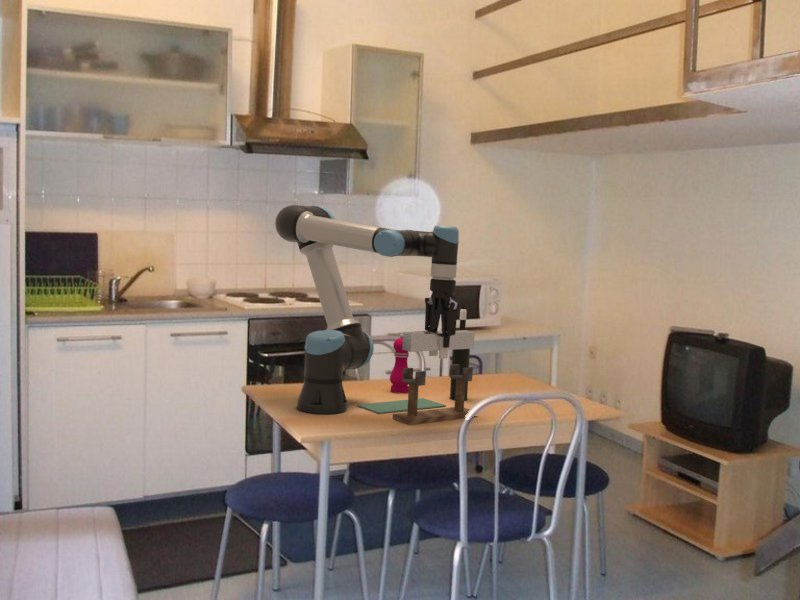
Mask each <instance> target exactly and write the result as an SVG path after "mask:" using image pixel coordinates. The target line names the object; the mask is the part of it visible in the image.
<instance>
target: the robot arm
mask: <svg viewBox="0 0 800 600" xmlns="http://www.w3.org/2000/svg"><path fill="white" fill-rule="evenodd" d="M274 223H275V224H274V225H275V229H276V232H277V234H278V235H279V236H280V238H282V239H283V240H285V241H286V242H291V243H297V246H298V250H299V252H300V253H301V254H303V255H304V256H306V259H307V263H308V267H309V269H310V273H311V275H312V279H313V282H314V286H315V288H316V293H317V296H318V298H319V301H320V305H321V309H322V312H323V316H324V319H325V321H326V325H327V328H326V329H324V330H316V331H312V332H310V333H308V334H307V336H306V338H305V344H304V371H303V384H302V388H301V390H300V392H299V396H298V398H297V402H296V409H297V410H299V411H301V412H305V413H310V414H317V415H318V414H320V415H325V414H326V415H328V414H329V415H330V414H331V415H332V414H339V413H344V412H346V411H348V401H347V400H348V399H347V396H346V393H345V390H344V386H343V377H344V375H343V373H344V372H345V371H348V370H356V369H359V368H361V367H364V366H366V364H368V363H369V362H370V360H371V359H372V356H373V355H374V349H375V347H374V341H373V339H372V337H371V336H370V335H369V333H367V332H366V331H364V330H363V327H362V325H361V322H360V321H358V320H357V319H355V318H354V316H353V315H354V314H353V311H352V309H351V304H350V303H349V298H348V297H347V293H346V289H345V286H344V283H343V280H342V277H341V273H340V270H339V267H338V264H337V263H338V262H337V259H336V257H335V253H334V250H333V246H338V247H343V248H349V249H355V250H360V251H365V252H370V253H376V254H379V255H381V256H383V257H388V258H392V257H424V258H425V257H427V258H431V263H430V277H432V278H430V281H429V282H430V283H429V291H430V292H431V295H430V297H429V296H428V297H425V298H424V303H425V313H424V314H425V315H424V330H425V332H433V331H438V330H439V325H440V322H441V331H442V335H440V349H439V350H435V351H428V356H429V357H437V356H438V359H441V360H442V359H448V357H449V350H448V348H449V342H450V336H452V335H455V332H456V331H457V320H458V310H459V306H460V302H458V301H457V302H456V301H455V300H454V296H453V294H454V293H455V292H456V285H457V282H456V278H457V269H458V268H457V267H458V266H457V265H458V255H459V254H458V253H459V252H458V251H459V244H460V241H459V237H460V236H459V235H460V234H459V233H460V232H459V228H458V227H457V226H451V225H450V226H449V225H435V226H434V227H433V229H432V231H424V230H423V231H422V230H412V229H392V228H385V227H379V226H373V225H369V224H362V223H359V222H358V223H357V222H352V221H345V220H340V219H335V217H334V215H333V214H332V212H330V211H329V210H328V209H327V208H324V207H320V206H319V205H318V206H317V205H298V204H292V205H291V204H290V205H287V206H285V207H283V208H282V209H280V211H278V214H277V215H276V217H275V222H274ZM440 319H441V321H440ZM446 331H447V332H446Z"/></svg>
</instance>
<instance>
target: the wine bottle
mask: <svg viewBox="0 0 800 600" xmlns="http://www.w3.org/2000/svg"><path fill="white" fill-rule="evenodd" d="M466 325H467V309H466V308H465V309H462V308H461V309H460V311H459V330H458V331H460V330H466ZM470 356H471V349H454V350H452V353H451V365H454V364H459V365H460V373H459V374H460V375H463V368H469V367H470V358H471V357H470ZM468 386H469V381H467V382H465V396H464V401H468V391H469V387H468ZM449 390H450V393H449V399H450V400H452V401H455V391H456V379H453V378H450V387H449Z"/></svg>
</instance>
